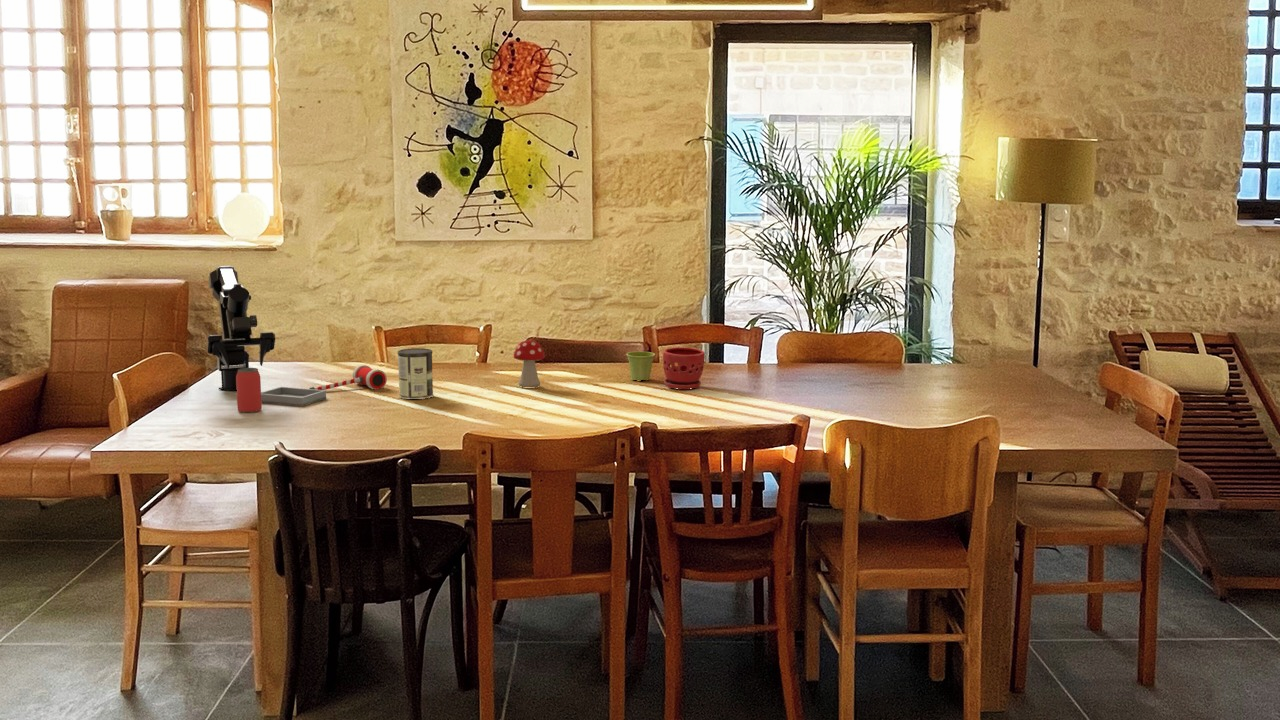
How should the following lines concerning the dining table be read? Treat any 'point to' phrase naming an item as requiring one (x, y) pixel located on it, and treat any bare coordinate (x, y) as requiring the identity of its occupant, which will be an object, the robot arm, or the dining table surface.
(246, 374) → the beer can
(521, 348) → the decorative mushroom
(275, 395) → the tray
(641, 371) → the plant pot
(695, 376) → the plant pot
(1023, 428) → the dining table surface
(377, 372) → the toy hammer
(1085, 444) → the dining table surface
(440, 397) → the dining table surface
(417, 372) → the coffee can
